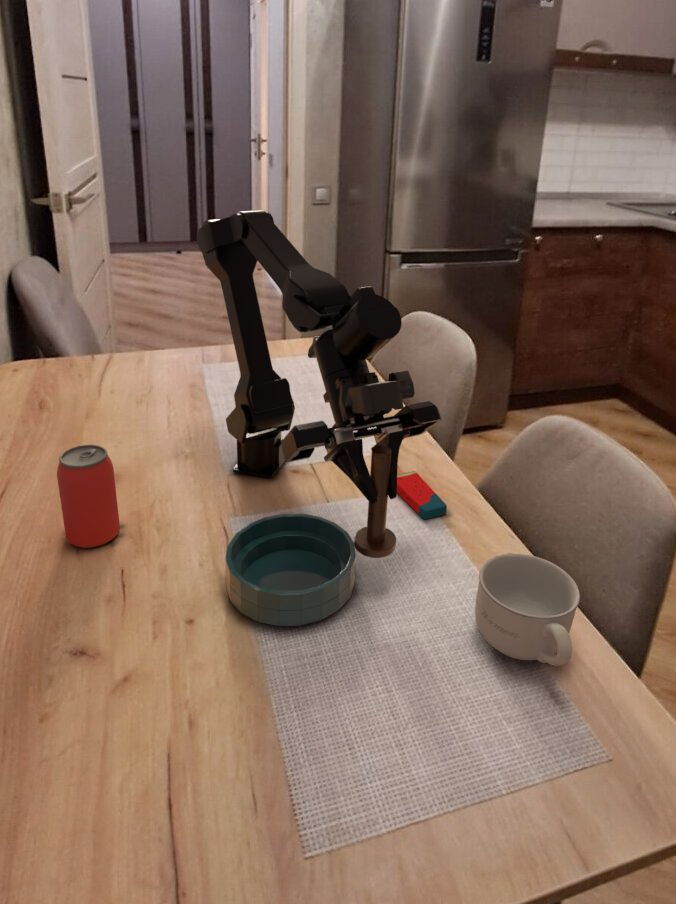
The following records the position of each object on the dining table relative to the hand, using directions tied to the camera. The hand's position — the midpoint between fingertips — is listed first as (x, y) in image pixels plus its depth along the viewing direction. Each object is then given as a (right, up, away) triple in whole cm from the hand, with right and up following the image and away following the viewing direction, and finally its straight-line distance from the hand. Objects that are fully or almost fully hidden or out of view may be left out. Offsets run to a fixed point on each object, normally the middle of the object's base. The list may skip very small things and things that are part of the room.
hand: (383, 500), depth 76 cm
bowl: (-11, -11, +5) cm, 17 cm away
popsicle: (+4, -4, +26) cm, 27 cm away
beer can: (-38, -7, +12) cm, 41 cm away
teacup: (+15, -16, -2) cm, 22 cm away
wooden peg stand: (-1, -6, +4) cm, 7 cm away
